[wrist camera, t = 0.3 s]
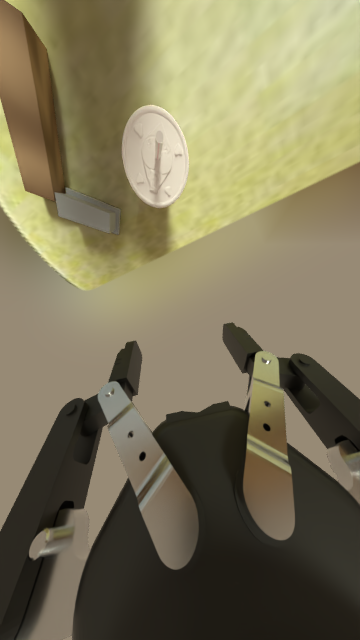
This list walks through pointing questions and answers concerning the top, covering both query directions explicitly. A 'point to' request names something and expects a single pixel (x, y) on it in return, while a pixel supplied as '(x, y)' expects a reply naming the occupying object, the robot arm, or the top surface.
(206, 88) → the top surface
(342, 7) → the top surface
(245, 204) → the top surface
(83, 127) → the top surface
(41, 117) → the walnut bar
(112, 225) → the block
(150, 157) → the smoothie
